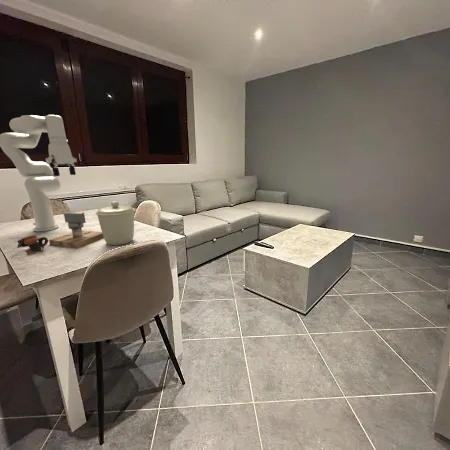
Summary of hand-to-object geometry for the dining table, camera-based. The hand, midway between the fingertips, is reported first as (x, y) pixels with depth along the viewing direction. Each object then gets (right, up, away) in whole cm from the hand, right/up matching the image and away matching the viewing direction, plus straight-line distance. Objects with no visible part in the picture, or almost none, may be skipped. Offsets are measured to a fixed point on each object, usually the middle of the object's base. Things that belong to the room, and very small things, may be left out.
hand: (65, 175), depth 131 cm
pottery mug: (-5, -39, -14) cm, 42 cm away
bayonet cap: (+8, -27, -3) cm, 29 cm away
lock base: (+8, -34, -1) cm, 35 cm away
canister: (+31, -35, -4) cm, 47 cm away
